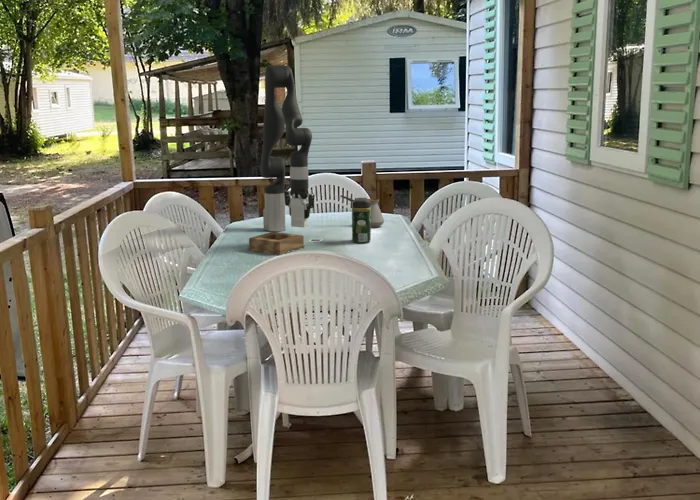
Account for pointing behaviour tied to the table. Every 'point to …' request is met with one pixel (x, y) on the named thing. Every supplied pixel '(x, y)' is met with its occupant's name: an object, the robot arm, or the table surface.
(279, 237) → the holder
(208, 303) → the table surface
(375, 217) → the coffee pot
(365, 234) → the coffee jar
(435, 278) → the table surface
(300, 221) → the skincare box
